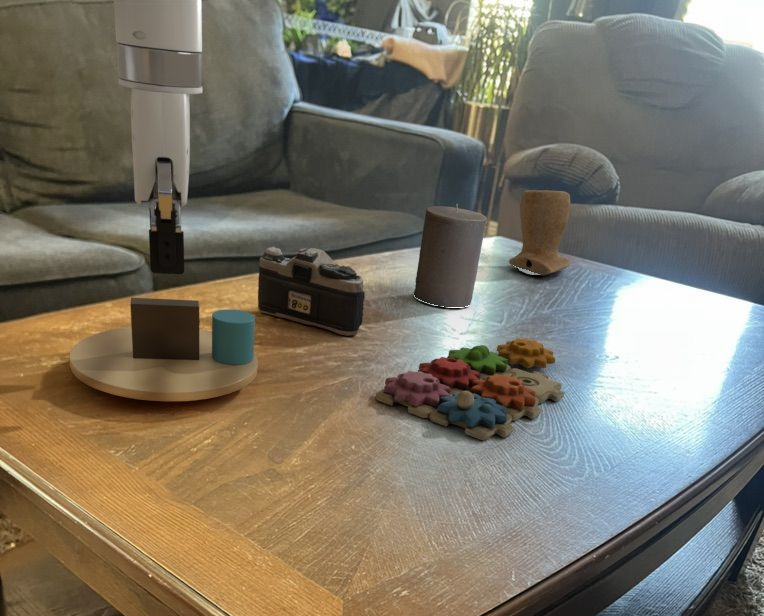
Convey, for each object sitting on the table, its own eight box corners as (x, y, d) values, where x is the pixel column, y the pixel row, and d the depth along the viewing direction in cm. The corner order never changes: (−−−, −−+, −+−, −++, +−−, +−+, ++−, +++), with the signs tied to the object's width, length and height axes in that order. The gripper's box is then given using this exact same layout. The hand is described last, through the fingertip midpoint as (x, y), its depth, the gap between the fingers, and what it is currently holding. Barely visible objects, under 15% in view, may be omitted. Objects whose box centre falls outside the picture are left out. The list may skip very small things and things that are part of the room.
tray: (61, 400, 75) (54, 330, 72) (77, 330, 92) (72, 270, 88) (267, 402, 81) (270, 337, 77) (248, 336, 97) (250, 280, 93)
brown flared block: (521, 257, 162) (537, 180, 154) (575, 270, 157) (594, 192, 150) (491, 268, 151) (507, 186, 143) (548, 283, 146) (567, 198, 138)
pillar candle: (400, 294, 127) (413, 197, 120) (442, 289, 133) (457, 196, 125) (442, 312, 121) (458, 212, 114) (484, 306, 127) (502, 210, 120)
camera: (381, 323, 113) (389, 253, 108) (349, 340, 105) (357, 266, 100) (287, 298, 118) (291, 230, 113) (250, 313, 110) (252, 240, 104)
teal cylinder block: (213, 364, 85) (213, 322, 83) (210, 349, 89) (210, 308, 86) (255, 365, 86) (256, 323, 84) (251, 350, 90) (252, 310, 88)
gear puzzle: (491, 342, 112) (497, 314, 109) (597, 376, 105) (605, 347, 103) (368, 400, 88) (372, 366, 86) (493, 448, 82) (500, 413, 79)
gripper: (121, 60, 78) (131, 237, 87) (113, 73, 64) (126, 282, 72) (198, 69, 80) (200, 241, 88) (207, 83, 65) (208, 285, 74)
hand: (167, 259), depth 80 cm, fingers open, 9 cm apart
